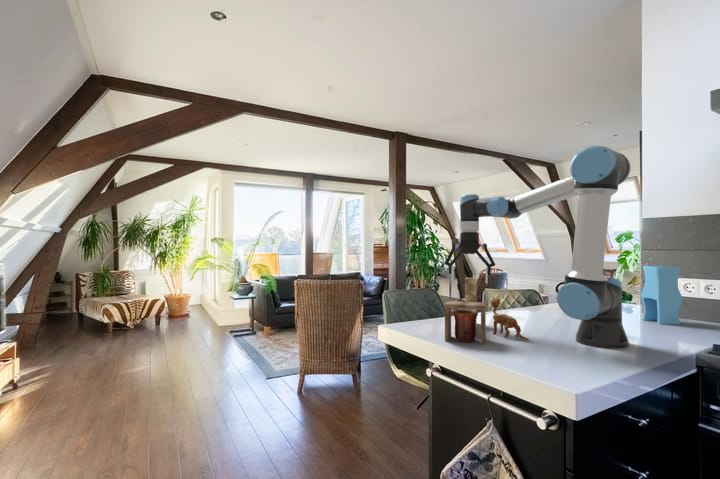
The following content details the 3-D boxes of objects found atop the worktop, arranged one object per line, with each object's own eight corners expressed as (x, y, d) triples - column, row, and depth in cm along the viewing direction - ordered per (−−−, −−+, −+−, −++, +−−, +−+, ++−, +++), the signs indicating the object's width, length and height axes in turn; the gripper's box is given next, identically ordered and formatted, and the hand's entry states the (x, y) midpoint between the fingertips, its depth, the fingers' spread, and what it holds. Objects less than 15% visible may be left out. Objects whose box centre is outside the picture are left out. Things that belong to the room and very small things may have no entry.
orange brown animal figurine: (535, 342, 128) (535, 303, 128) (521, 344, 126) (521, 304, 126) (498, 331, 145) (498, 296, 145) (485, 332, 142) (485, 297, 143)
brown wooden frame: (485, 339, 132) (485, 302, 132) (484, 344, 124) (484, 306, 124) (447, 336, 136) (447, 300, 137) (444, 341, 129) (444, 303, 129)
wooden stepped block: (476, 323, 159) (476, 277, 160) (473, 336, 136) (473, 283, 136) (465, 322, 161) (465, 277, 161) (460, 335, 137) (460, 282, 138)
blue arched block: (682, 326, 152) (681, 267, 153) (659, 326, 152) (658, 267, 153) (663, 322, 162) (662, 265, 163) (641, 321, 162) (640, 265, 163)
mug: (452, 336, 135) (452, 309, 136) (476, 338, 134) (476, 310, 134) (454, 345, 124) (453, 315, 124) (480, 346, 122) (480, 316, 122)
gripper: (501, 232, 151) (501, 283, 151) (440, 232, 160) (440, 280, 160) (501, 231, 144) (501, 284, 144) (438, 231, 153) (437, 282, 153)
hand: (469, 282), depth 152 cm, fingers open, 13 cm apart
